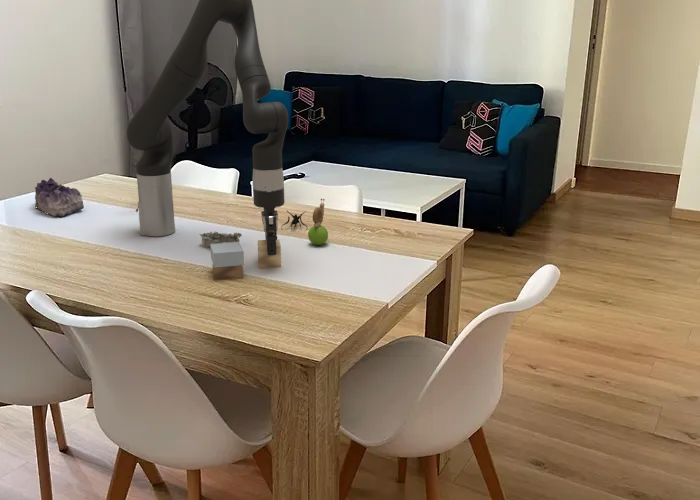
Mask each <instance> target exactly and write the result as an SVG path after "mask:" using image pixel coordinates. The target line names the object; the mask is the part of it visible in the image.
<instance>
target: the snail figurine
mask: <svg viewBox="0 0 700 500" xmlns="http://www.w3.org/2000/svg"><path fill="white" fill-rule="evenodd" d="M322 201H323V202H322ZM320 202H321V203H320V204H319V207H316V208H314V209H313V212H312V221H313V226H311V227H310V228H309V230H308V233H307V238H308V240H309V242H310V243H311V244H312V245H316V246H321V245H324V244H325V243H326V242H327V241H328V238H329V232H328V229H327V228H326V227H325V226H323V225H321V224H322V223H323V220H324V213H325V203H324V202H325V198H320Z"/></svg>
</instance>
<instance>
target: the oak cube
mask: <svg viewBox="0 0 700 500" xmlns="http://www.w3.org/2000/svg"><path fill="white" fill-rule="evenodd" d="M281 248H282V247H281V242H280V238H279V239H278V238H277V240H276V255H268V254H267V241H266V240H265V239H257V260H258V262H257V263H258V264H257V265H258V268H259V269H262V268H269V269H270V268H282V252H281V251H282V249H281Z"/></svg>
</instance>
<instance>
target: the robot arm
mask: <svg viewBox="0 0 700 500" xmlns="http://www.w3.org/2000/svg"><path fill="white" fill-rule="evenodd" d="M218 22H223V23H226V24H231V26H232V29H233V30H234V33H235V35H236V39H237V47H236V52H235V55H234V71H235V75H236V78H237V81H238V84H239V87H240V91H241V97H242V122H243V125H244V127H245V129H246V130H247V131H248V132H249V133H251V134H252V135H253V134H254V135H260V134H266V133H267V134H268V135H267V138H266V139H264V140H263V141H260V142H258V143H255V144H254V145H253V146H252V149H251V150H252V191H253V192H252V195H253V205H254V207H258V208H260V209H263V210H261V212H260V213H261V214H260V215H261V221H262V225H263V232H264V238H265V239H264V240H266V241H267V254H268V255H276V240H277V239H278V231H279V226H278V225H279V224H278V221H279V212H278V210H276V209H275V208H279V207H280V208H281V207H282V206H284V205H285V179H284V178H285V177H284V171H283V147H284V142H285V137H286V133H287V130H288V124H289V113H288V109H287V108H286V106H285V104H284V103H282V102H280V101H269V102H258V100H260V99H263V98H265V97H267V96H268V95H269V94H270V92H271V90H272V86H271V83H270V82H271V81H270V80H269V76H268V72H267V70H266V66H265V64H264V61H263V57H262V53H261V50H260V43H259V37H258V31H257V30H258V29H257V24H256V18H255V10H254V6H253V1H252V0H199V1H198V2H197V5H196V6H195V9H194V12H193V14H192V16H191V18H190V20H189V23H188V25H187V27H186V29H185V31H184V32H183V34H182V36H181V38H180V40H179V42H178V43H177V45H176V47H175V49H174V50H173V51H172V53H171V55H170V56H169V58H168V61H167V62H166V63H165V65H164V68H163V69H162V71H161V73H160V75H159V77H158V78H157V79H156V81H155V83H154V85H153V87H152V89H151V90H150V92H149V94H148V96H147V98H146V99H145V100H144V102H143V103H142V105H141V106H140V107H139V109H138V110H137V111H136V112H135V114H134V115H133V117H132V118H131V119H130V120H129V123H128V125H127V128H126V138H127V141H128V145H130V146H131V147H132V148H133V149H135V150H137V151H138V150H139V151H143V153H142V156H141V157H140V158H139V160H137V162H136V164H135V171H136V182H137V194H138V201H137V209H138V211H139V213H138V219H139V220H138V221H139V232H140V236H147V237H163V236H169V235H172V234H174V233H175V232H176V227H175V226H176V223H175V210H174V209H175V208H174V196H173V183H172V181H173V180H172V169H171V168H172V167H171V166H172V165H173V164H172V163H173V159H174V153H173V152H174V151H173V150H174V148H173V147H174V146H173V145H174V143H173V140H174V139H173V130H172V126H171V125H172V124H171V123H170V121H169V119H168V117H169V115H170V114H171V113H172V112H173V111H174V110H175V109H177V107H179V105H180V104H182V103H183V102H184V101H185V100H186V99H187V98H188V97H189V96H190V95H191V94H192V93H193V92H194V91H195V89H196V88H197V86H198V84H199V83H200V82H201V80H202V78H203V77H204V75H205V72H206V71H207V68H208V40H209V37H210V36H211V33H212V31H213V29H214V27H215V26H216V24H217V23H218Z"/></svg>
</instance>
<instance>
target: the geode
mask: <svg viewBox="0 0 700 500" xmlns="http://www.w3.org/2000/svg"><path fill="white" fill-rule="evenodd" d="M58 183H59V182H56V181H55V180H54V178H52V177H49V179H48V180H45V179H42V180H41V181H40V182H37V183H36V186H35V187H34V190H35V191H34V192H35V195H34V199H35V208H36V207H37V208H38V210H39V209H40V210H39V211H41V210H42V211H41V212H43V211H44V213H45V212H46V213H49V214H50V216H53V217H59V218H63V217H65V216H67V215H70V214H72V213H75V212H77V211H81V210H84V208H85V206H84V201H83V195H82V194H81V192H80V191H79V190H78V189H77V188H76V187H75V188H74V187H72V188H70V187H69V186H64V185H62V184H58ZM37 208H36V209H37ZM46 213H45V214H46ZM49 214H48V215H49Z"/></svg>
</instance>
